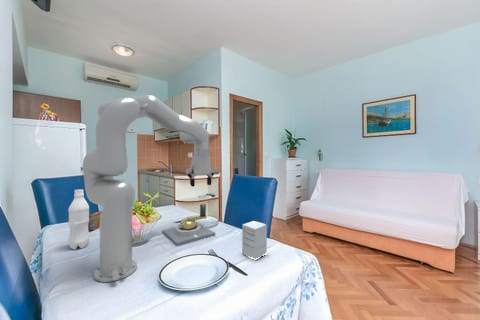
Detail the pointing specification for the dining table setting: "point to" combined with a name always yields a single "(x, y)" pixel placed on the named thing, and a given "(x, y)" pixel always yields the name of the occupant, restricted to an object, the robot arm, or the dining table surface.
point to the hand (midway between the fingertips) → (201, 185)
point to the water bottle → (78, 221)
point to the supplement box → (254, 239)
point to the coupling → (193, 219)
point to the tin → (94, 221)
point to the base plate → (186, 238)
